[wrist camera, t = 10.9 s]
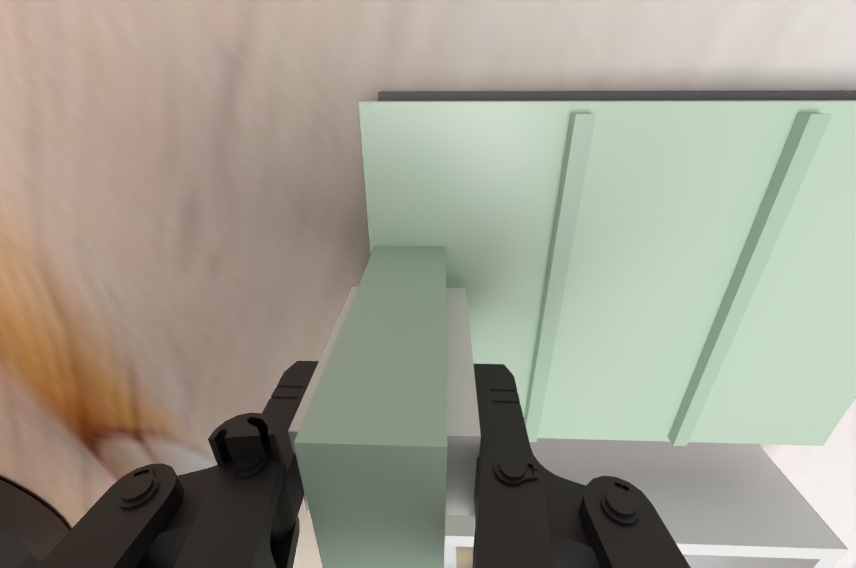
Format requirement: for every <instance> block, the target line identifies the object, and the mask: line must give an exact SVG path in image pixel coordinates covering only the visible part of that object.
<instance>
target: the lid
mask: <svg viewBox="0 0 856 568" xmlns="http://www.w3.org/2000/svg"><path fill="white" fill-rule="evenodd" d="M358 105H359V118H360V131H361V143H362V156H363V169H364V182H365V195H366V208H367V221H368V234H369V246H370V259H369V261H368V264H367V266H366V269H365V271H364V273H363V276H362V278H361V281H360V283H359V286H358V288H357V290H356V293H355V295H354V298H353V300H352V303H351V305H350V307H349V310H348V312H347V315H346V317H345V320H344V322H343V324H342V327H341V329H340V332H339V334H338V337H337V339H336V341H335V344H334V346H333V349H332V351H331V354H330V356H329V358H328V361H327V363H326V366H325V368H324V371H323V373H322V376H321V378H320V380H319V383H318V385H317V388H316V390H315V393H314V395H313V397H312V400H311V402H310V405H309V407H308V410H307V412H306V414H305V417H304V419H303V422H302V424H301V427H300V429H299V431H298V434H297V436H296V439H295V441H294V445H295V450H296V454H297V458H298V462H299V467H300V471H301V475H302V480H303V484H304V488H305V493H306V497H307V501H308V505H309V510H310V514H311V518H312V523H313V527H314V531H315V536H316V540H317V544H318V548H319V553H320V557H321V561H322V566H323V568H444V548H445V514H446V480H447V348H446V288H466V296H467V306H468V315H469V325H470V335H471V345H472V355H473V364H504V365H505V366H506V367H507V368H508V370H509V371H510V372H511V373H512V374H513V376H514V378H515V383H516V387H517V393H518V395H519V400H520V404H521V408H522V413H523V417H524V421H525V425H526V430H527V434H528V438H529V442H537V438H554V439H591V440H628V441H665V442H671V443H672V445H673V446H687V444H688V442H702V443H739V444H776V445H813V446H823V445H824V443H825V442H826V440H827V439H828V437H829V436H830V434H831V433H832V431H833V430H834V428H835V427H836V425H837V424H838V422H839V421H840V419H841V418H842V417H843V415H844V414H845V412H846V411H847V409H848V408H849V406H850V405H851V403H852V402H853V400H854V399H855V397H856V100H828V101H361V102H358Z"/></svg>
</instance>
